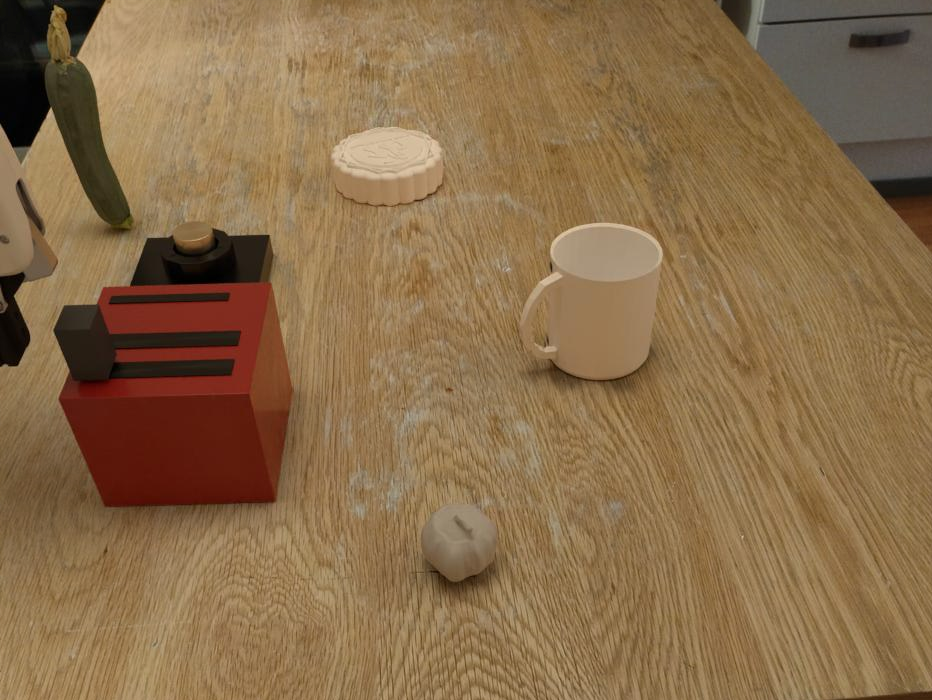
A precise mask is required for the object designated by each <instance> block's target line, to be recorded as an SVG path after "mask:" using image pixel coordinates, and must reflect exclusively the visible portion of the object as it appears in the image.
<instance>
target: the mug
mask: <svg viewBox="0 0 932 700" xmlns="http://www.w3.org/2000/svg"><path fill="white" fill-rule="evenodd" d="M549 248H550V249H549V269H548V271H549V272H548V276H547V277H545V278H543V279H542V280H539V282H538V283H537V284H536V286H535V287H534V289H533V290H532V291H531V293H530V295H529V296H528V298H527V299H526V302H525V304H524V306H523V309H522V313H521V316H520V320H519V333H520V340H521V343H522V345H523V347H525V348H526V349H527V351H530V352H531V353H532V354H533V355H534V357H535V358H538V359H541V360H551V361H552V363H553V364H554V365H555V366H556V367H557V368H558V369H560V370H561V371H563V372H564V373H567V375H571V376H574V377H576V378H580V379H583V380H592V381H608V380H615V379H620V378H623V377H625V376H628V375H630V374H632V373H634V372H635V371H637V370H638V369H639V368H640V367H642V365H643V364H644V363H645V362H646V360H647V358H648V357H649V354H650V348H651V340H652V333H653V326H654V321H655V312H656V307H657V306H656V305H657V298H658V292H659V283H660V277H661V269H662V263H663V256H664V252H663V248H662V246H661V244H660V242H659V241H658V240H657V239H656V238H655V237H653V236H652V235H651V234H649V233H648V232H646V231H644V230H641V229H639V228H637V227H633V226H630V225H626V224H623V223H613V222H595V223H594V222H593V223H585V224H582V225H578V226H574V227H571V228H569V229H567V230H565V231H563V232H561V233H560V234H558V235H557V236H556V237H555V238H554V239H553V241H552V243H551V245H550V247H549ZM546 297H547V312H546V313H547V317H546V335H545V336H546V339H545V347H543V346H542V345H539V344H538V343H537V342H534V340H533V338H532V332H531V330H532V329H531V328H532V324H533V321H534V319H535V316H536V313H537V311H538V309H539V307H540V305H541V304H542V302H543V301H544V299H545V298H546Z"/></svg>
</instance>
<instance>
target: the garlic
mask: <svg viewBox="0 0 932 700" xmlns="http://www.w3.org/2000/svg"><path fill="white" fill-rule="evenodd" d="M498 534H499V530H498V526H497V525H496V523H495V522H494V521H493V520H492V519H490V518H489V516H488V515H486V513H484V512H483V511H481V510H480V509H479V508H478V507H477V506H475V505H473V504H467V503H458V502H457V503H456V502H453V501H452V502H448V503H447V504H445V505H442V506H440V507H439V508H438V509H437V510H436V511H434V512H432V513H431V514H430V516H429V517H428V519H427V520H426V522H425V523H424V524H423V526H422V528H421V531H420V546H421V551H422V554H423V556H424V558H425V559H426V560H427V562H429V563H430V564H431V565H432V566H433V567H434V569H436V570H437V571H438V572H439V573H440V574H441V575H442V576H443V577H445V578H446V579H447V580H448V581H450V582H452V583H458V582H461V581H464V580H465V579H466V578H468V577H471V576H476V575H479V574H480V573H482V572H483V571H484V569H486V568H487V567H488V566H490V565H492V563H493V561H494V558H495V552H496V549H497V545H498V536H499V535H498Z"/></svg>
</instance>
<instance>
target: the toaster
mask: <svg viewBox="0 0 932 700" xmlns="http://www.w3.org/2000/svg"><path fill="white" fill-rule="evenodd" d="M96 304H99V306H100V309H101V312H102V314H103V317H104V320H105V323H106V326H107V328H108V331H109V334H110V337H111V340H112V342H113V345H114V348H115V351H116V354H117V356H116V358H115V361H114V364H113V367H112V370H111V372H110V375H109V378H108V380H85V381H74V380H73V378H72V376H71V373H70V371H68V374H67V376H66V379H65V382H64V384H63V386H62V387H61V388H62V389H61V391H60V394H59V396H58V403H59V404H60V406H61V409H62V411H63V413H64V415H65V418H66V421H67V423H68V424H69V427H70V430H71V432H72V434H73V437H74V439H75V441H76V443H77V446H78V448H79V451H80V453H81V455H82V457H83V459H84V462H85V464H86V466H87V468H88V471H89V474H90V476H91V478H92V480H93V483H94V485H95V487H96V489H97V492H98V494H99V496H100V499H101V501H102V504H103V506H104V507H106V508H108V507H109V508H110V507H140V506H142V507H143V506H144V507H145V506H174V505H175V506H176V505H178V506H179V505H209V504H212V505H213V504H214V505H215V504H245V503H247V504H248V503H275V502H276V500H277V493H278V487H279V480H280V474H281V467H282V461H283V455H284V449H285V442H286V435H287V428H288V422H289V417H290V416H289V415H290V411H291V404H292V397H293V390H294V389H293V384H292V378H291V372H290V369H289V368H290V367H289V364H288V358H287V353H286V349H285V343H284V337H283V333H282V329H281V324H280V319H279V313H278V308H277V302H276V297H275V293H274V288H273V284H272V282H269V281H268V282H262V283H226V284H190V285H154V286H130V285H126V286H125V285H120V286H102V288H101V291H100V294H99V296H98V299H97V302H96Z"/></svg>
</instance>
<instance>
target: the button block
mask: <svg viewBox="0 0 932 700" xmlns="http://www.w3.org/2000/svg"><path fill="white" fill-rule="evenodd" d="M212 230H213V235H214V239H215V243H216V249H215V250H213V251H212V252H211V253H209V254H206V255H203V256H199V257H185V256H181V255H179V254H178V252H177V249H176V245H175V242H174V238H173V234H171V235H170V236H168V237H167V236H166V237H165V236H164V237H147V238H146V240H145V242H144V246H143V249H142V251H141V253H140V256H139V259H138V262H137V264H136V267H135V270H134V273H133V276H132V279H131V280H130V283H129V286H154V285H190V284H226V283H262V282H269V280H270V274H271V269H272V265H273V260H274V255H275V254H274V251H273V249H274V248H273V245H272V239H271V234H244V235H243V234H242V235H241V234H240V235H239V234H237V235H228V233H227V232H225V231H224V230H221V229H217V228H214V227H212Z"/></svg>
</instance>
